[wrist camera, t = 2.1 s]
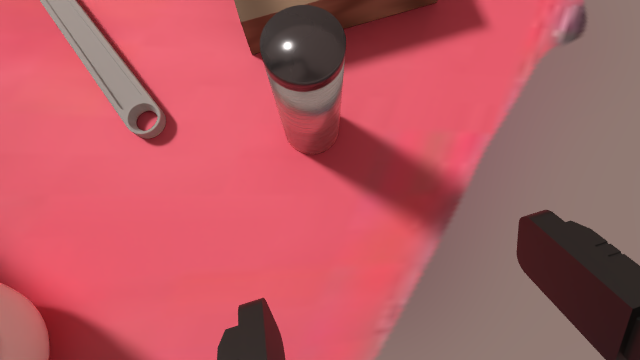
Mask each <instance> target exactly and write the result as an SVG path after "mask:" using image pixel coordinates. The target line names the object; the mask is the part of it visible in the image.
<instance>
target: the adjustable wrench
mask: <svg viewBox="0 0 640 360" xmlns="http://www.w3.org/2000/svg"><path fill="white" fill-rule="evenodd" d="M40 1H41V3H42V4H43V6H44V7H45V9H46V10H47V12H48V13H49V15H50V16H51V17H52V19H53V20H54V22H55V23H56V25H57V26H58V28H59V29H60V30H61V32H62V33H63V35H64V36H65V38H66V39H67V41H68V42H69V44H70V45H71V46H72V48H73V49H74V51H75V52H76V54H77V55H78V57H79V58H80V59H81V61H82V62H83V64H84V65H85V67H86V68H87V70H88V71H89V73H90V74H91V75H92V77H93V78H94V80H95V81H96V83H97V84H98V86H99V87H100V88H101V90H102V91H103V93H104V94H105V96H106V97H107V99H108V100H109V102H110V103H111V104H112V106H113V107H114V109H115V110H116V112H117V113H118V115H119V116H120V117H121V119H122V120H123V122H124V123H125V125H126V126H127V128H128V129H129V130H130V131H132V132H133V133H134V134H136V135H137V136H139V137H141V138H146V139H149V138H154V137H156V136H157V135H159V134H160V133H161V132H162V131H163V129H164V128H165V125H166V116H165V114H164V112H163V111H162V110H161V108H160V107H159V106H158V105H157V103H156V102H155V101H154V99H153V98H152V97H151V96H150V94H149V93H148V92H147V90H146V89H145V88H144V87H143V85H142V84H141V83H140V81H139V80H138V79H137V78H136V76H135V75H134V74H133V72H132V71H131V70H130V69H129V67H128V66H127V65H126V63H125V62H124V61H123V59H122V58H121V57H120V56H119V54H118V53H117V52H116V50H115V49H114V48H113V47H112V45H111V44H110V43H109V41H108V40H107V39H106V38H105V36H104V35H103V34H102V32H101V31H100V30H99V29H98V27H97V26H96V25H95V23H94V22H93V21H92V20H91V18H90V17H89V16H88V14H87V13H86V12H85V11H84V9H83V8H82V7H81V5H80V4H79V3H78V1H77V0H40ZM145 111H153V112H155V113H156V115H157V117H158V118H157V121H156V123H155V125H154V126H153V127H152V128H151V129H149V130H147V131H142V130H140V129H139V128H138V127H137V124H136V122H137V119H138V117H139V116H140V115H141V114H142V113H143V112H145Z"/></svg>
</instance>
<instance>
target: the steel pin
mask: <svg viewBox="0 0 640 360" xmlns="http://www.w3.org/2000/svg"><path fill="white" fill-rule="evenodd" d="M345 50H346V37H345V33H344V30H343V28H342V26H341V24H340V22H339V21H338V20H337V19H336V18H335V17H334V16H333V15H332V14H331V13H329V12H328V11H326V10H324V9H322V8H319V7H316V6H311V5H296V6H292V7H288V8H285V9H283V10H281V11H280V12H278V13H276V14H275V15H274V16H273V17H272V18H271V19H270V20H269V21H268V22H267V23H266V25H265V27H264V28H263V31H262V33H261V37H260V51H261V55H262V59H263V62H264V65H265V69H266V72H267V75H268V78H269V82H270V85H271V88H272V92H273V95H274V98H275V101H276V105H277V108H278V111H279V115H280V118H281V121H282V125H283V128H284V131H285V134H286V137H287V140H288V142H289V143H290V145H291V146H292V147H293V148H295V149H296V150H297V151H299V152H302V153H305V154H318V153H322V152H324V151H326V150H327V149H329V148H330V147H331V146H332V145H333V144H334V142H335V141H336V139H337V136H338V132H339V121H340V109H341V97H342V85H343V74H344V62H345Z"/></svg>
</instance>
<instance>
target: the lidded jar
mask: <svg viewBox="0 0 640 360" xmlns="http://www.w3.org/2000/svg"><path fill="white" fill-rule="evenodd" d="M49 354H50V343H49V336H48V331H47V328H46V324H45V322H44V320H43V318H42V316H41V314H40V312H39V311H38V310H37V308H36V307H35V306H34V305H33V303H32V302H31V301H30V300H29V299H27V298H26V297H25V296H24V295H23V294H21V293H19V292H18V291H16V290H14V289H13V288H11V287H9V286H7V285H5V284H2V283H0V360H49Z"/></svg>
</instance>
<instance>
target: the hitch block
mask: <svg viewBox="0 0 640 360" xmlns="http://www.w3.org/2000/svg"><path fill="white" fill-rule="evenodd" d="M234 1H235V4H236V8H237V11H238V15H239V18H240V21H241V24H242V27H243V30H244V33H245V36H246V39H247V42H248V45H249V47H250V50H251V53H252V55H253V54H256V53H260V52H261V51H260V37H261V33H262V31H263V28H264V27H265V25H266V23H267V22H268V21H269V20H270V19H271V18H272V17H273V16H274V15H275V14H276V13H278V12H280V11H281V10H283V9H285V8H288V7H292V6H296V5H311V6H316V7H319V8H322V9H324V10H326V11H328V12H329V13H331V14H332V15H333V16H334V17H335V18H336V19H337V20H338V21H339V22H340V24H341V26H342V28H343V29H345V28H348V27H352V26H355V25H359V24H362V23H366V22H369V21H373V20H377V19H380V18H384V17H387V16H391V15H394V14H398V13H401V12H405V11H408V10H412V9H415V8H419V7H423V6H426V5H430V4H433V3H437V0H234Z"/></svg>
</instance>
